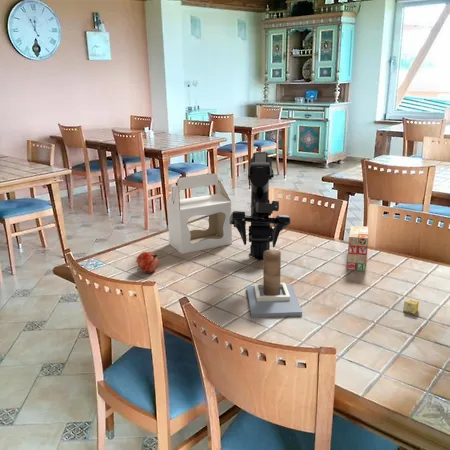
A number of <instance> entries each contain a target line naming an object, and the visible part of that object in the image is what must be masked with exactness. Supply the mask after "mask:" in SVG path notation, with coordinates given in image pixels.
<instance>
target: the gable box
mask: <svg viewBox="0 0 450 450" xmlns="http://www.w3.org/2000/svg"><path fill="white" fill-rule="evenodd" d="M176 183H177V185H175V186H171V194H170V196H169V198H168V200H167V202H166V209H167V226H168V238H169V239H168V241H169V245H171V246H172V248H174V249H176V251H178V252H179V253H180V254H182V255H183V254H185V255H186V254H189V253H194V252H200V251H203V250H204V251H205V250H209V249H213V248H219V247H223V246H228V245H232V244H233V232H232V231H233V230H232V229H233V227H232V225H233V224H230V216H231V214H232V201H231V199H230V197H229V196H228V193H227V191H226V190H225V187H224V181H223V180H222V179H220V180H219V179H218V174H217V173H215V172H214V173H206V174H199V175H189V176H183V177H179V178H178V179H177V180H176ZM209 186H215V194H214V193H213V194H209V195H207V194H206V195H202V196H201V195H200V196H194V197H188V198H181V194H180V192H181V190H186V189H195V188H202V187H209ZM195 216H208V220H207V221H208V228H207V229H205V230H202V229H192V230H190V228H189V226H188V220H189V219H190V218H192V217H195Z"/></svg>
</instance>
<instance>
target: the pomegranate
mask: <svg viewBox="0 0 450 450" xmlns="http://www.w3.org/2000/svg"><path fill="white" fill-rule="evenodd" d="M159 256H160V255H158V254H157V253H156V254H154V253H152V252H151V251H150V252H149V251H144V252H142V253H139V255H137V258H136V263H137V265H138V269H137V270H136V271H137V272H138V271H139V270H141V271H142V272H144V273H145V274H150V273H153V272H154V271H155V270H156V269H157V268H158V266H159V259H158V258H157V257H159Z"/></svg>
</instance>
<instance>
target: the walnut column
mask: <svg viewBox="0 0 450 450" xmlns="http://www.w3.org/2000/svg"><path fill="white" fill-rule="evenodd" d="M281 255H282V253H281V251H280V250H278V249H270V250H266V251H264V252H263V259H262V261H263V263H262V264H263V267H262V268H263V270H262V271H263V274H262V275H263V294H264V295H265V296H275V295H280V283H281V268H282V267H281V265H282V264H281V263H282V261H281V257H282V256H281Z"/></svg>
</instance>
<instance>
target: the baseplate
mask: <svg viewBox="0 0 450 450" xmlns="http://www.w3.org/2000/svg"><path fill="white" fill-rule="evenodd" d="M246 291H247V292H246V293H247V297H248V298H247V299H248V305H249V311H250V312H249V313H250V317H251V318H274V317H275V318H276V317H283V318H284V317H302V316H303V311H302V308H301V306H300V302H299V299H298V297H297V294H296V292H295V289H294V288H293V284H292V283H290V284H288V283H287V284H286V282H280V295H275V296H265V295H264V294H263V283H253V285H246Z"/></svg>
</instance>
